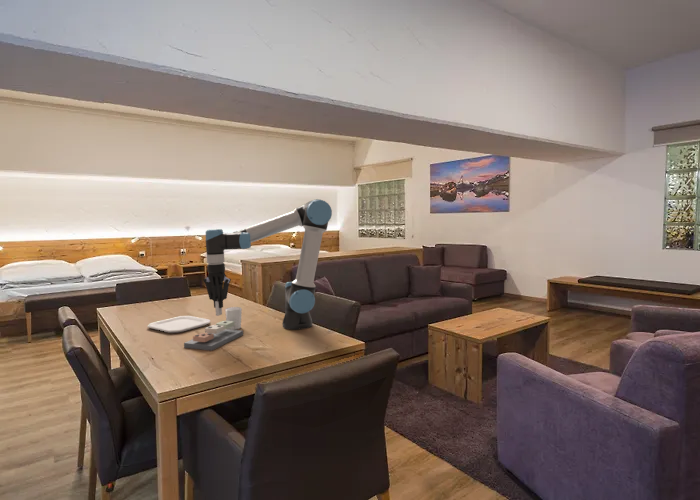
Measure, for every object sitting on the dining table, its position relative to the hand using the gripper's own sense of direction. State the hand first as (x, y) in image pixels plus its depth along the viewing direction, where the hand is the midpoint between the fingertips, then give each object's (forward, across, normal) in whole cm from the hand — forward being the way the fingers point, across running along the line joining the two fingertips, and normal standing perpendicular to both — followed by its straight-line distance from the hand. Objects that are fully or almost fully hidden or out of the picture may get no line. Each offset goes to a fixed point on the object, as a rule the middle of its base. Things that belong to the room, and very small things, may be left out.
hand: (219, 314), depth 188 cm
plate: (+12, +34, -15) cm, 38 cm away
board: (+12, +1, +2) cm, 12 cm away
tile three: (+8, +1, +10) cm, 14 cm away
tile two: (+7, +1, +2) cm, 8 cm away
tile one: (+7, +1, -6) cm, 9 cm away
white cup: (+12, +4, -19) cm, 23 cm away
